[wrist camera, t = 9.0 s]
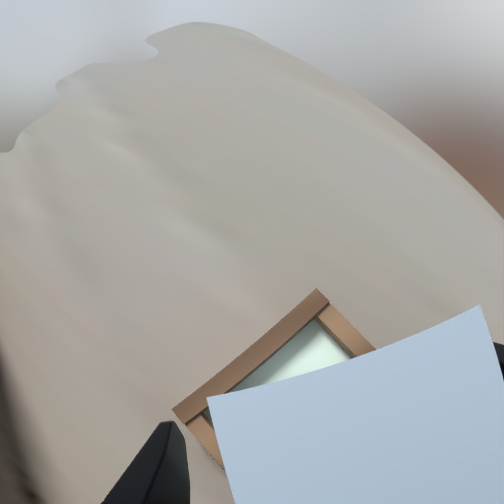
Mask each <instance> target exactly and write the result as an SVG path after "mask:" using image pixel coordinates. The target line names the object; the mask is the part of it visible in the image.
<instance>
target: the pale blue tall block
mask: <svg viewBox="0 0 504 504" xmlns="http://www.w3.org/2000/svg"><path fill="white" fill-rule="evenodd" d="M207 402H208V406H209V410H210V414H211V418H212V422H213V426H214V430H215V434H216V438H217V441H218V445H219V449H220V453H221V456H222V460H223V464H224V467H225V471H226V474H227V478H228V481H229V484H230V488H231V491H232V494H233V498H234V501H235V504H504V380H503V376H502V372H501V369H500V365H499V361H498V358H497V355H496V351H495V348H494V345H493V342H492V338H491V335H490V332H489V329H488V326H487V324H486V321H485V318H484V315H483V312H482V310H481V307H480V304H479V305H478V306H476V307H474V308H472V309H470V310H468V311H466V312H464V313H461V314H459V315H457V316H455V317H453V318H451V319H449V320H447V321H445V322H442V323H440V324H438V325H436V326H434V327H431V328H429V329H427V330H424V331H422V332H420V333H417V334H415V335H413V336H410V337H408V338H405V339H403V340H400V341H398V342H395V343H393V344H390V345H388V346H385V347H383V348H380V349H377V350H375V351H372V352H369V353H366V354H364V355H361V356H358V357H355V358H352V359H349V360H346V361H343V362H340V363H337V364H334V365H331V366H328V367H325V368H322V369H318V370H315V371H312V372H309V373H305V374H302V375H298V376H295V377H291V378H288V379H284V380H280V381H276V382H273V383H269V384H265V385H261V386H257V387H252V388H248V389H244V390H240V391H235V392H230V393H226V394H221V395H216V396H211V397H207Z"/></svg>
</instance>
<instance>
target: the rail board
mask: <svg viewBox="0 0 504 504" xmlns="http://www.w3.org/2000/svg"><path fill="white" fill-rule="evenodd" d="M375 350H376V349H375V348H374V347H373V346H372V345H371V344H370V343H369V342H368V341H367V340H366V339H365V338H364V337H363V336H362V335H361V334H360V333H359V332H358V331H357V330H356V329H355V328H354V327H353V326H352V325H351V324H350V323H349V322H348V321H347V320H346V319H345V318H344V317H343V316H342V315H341V314H340V313H339V312H338V311H337V310H336V309H335V308H334V307H333V306H332V305H331V304H330V303H329V300H328V299H327V298H326V297H325V296H324V295H323V294H322V293H321V292H320V291H319V290H318V289H317V288H316V289H315V290H314V291H313V292H312V293H311V294H310V295H308V296H307V297H306V298H305V299H304V300H303V301H302V302H301V303H300V304H299V305H297V306H296V307H295V308H294V309H293V310H292V311H291V312H290V313H289V314H287V315H286V316H285V317H284V318H283V319H282V320H281V321H279V322H278V323H277V324H276V325H275V326H274V327H273V328H271V329H270V330H269V331H268V332H267V333H266V334H264V335H263V336H262V337H261V338H260V339H259V340H257V341H256V342H255V343H254V344H253V345H252V346H250V347H249V348H248V349H247V350H246V351H244V352H243V353H242V354H241V355H240V356H238V357H237V358H236V359H235V360H234V361H232V362H231V363H230V364H229V365H227V366H226V367H225V368H224V369H223V370H221V371H220V372H219V373H218V374H216V375H215V376H214V377H213V378H211V379H210V380H209V381H208V382H206V383H205V384H204V385H202V386H201V387H200V388H199V389H197V390H196V391H195V392H194V393H192V394H191V395H190V396H188V397H187V398H186V399H184V400H183V401H182V402H181V403H179V404H178V405H177V406H175V407H174V408H173V409H172V410H173V412H174V413H175V414H176V416H177V417H178V418H179V419H180V421H181V422H182V423H183V424H185V425H186V426H187V428H188V429H189V430H190V431H191V432H192V434H193V435H194V436H195V437H196V438H197V440H198V441H199V442H200V443H201V444H202V445H203V446H204V448H205V449H206V450H207V451H208V452H209V453H210V454H211V456H212V457H213V458H214V459H215V460H216V461H217V462H218V463H219V464H220V465H221V466H222V468H223V469H224V470H225V467H224V464H223V460H222V456H221V453H220V449H219V445H218V441H217V438H216V434H215V430H214V426H213V422H212V418H211V414H210V410H209V406H208V402H207V397H211V396H216V395H221V394H226V393H230V392H235V391H240V390H244V389H248V388H252V387H257V386H261V385H265V384H269V383H273V382H276V381H280V380H284V379H288V378H291V377H295V376H298V375H302V374H305V373H309V372H312V371H315V370H318V369H322V368H325V367H328V366H331V365H334V364H337V363H340V362H343V361H346V360H349V359H352V358H355V357H358V356H361V355H364V354H366V353H369V352H372V351H375Z"/></svg>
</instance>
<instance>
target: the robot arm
mask: <svg viewBox="0 0 504 504" xmlns="http://www.w3.org/2000/svg"><path fill="white" fill-rule="evenodd" d="M493 345H494V348H495V351H496V355H497V358H498V361H499V365H500V369H501V372H502V376H503V380H504V345H502V344H498V343H495V342H493ZM101 504H190V479H189V470H188V462H187V453H186V443H185V439H184V436H183V435H182V433H181V431H180V430H179V428H178V426H177V425H176V423H175V422H174V421H165V422H161V423H160V424H159V425H158V426H157V428H156V429H155V430H154V432H153V433H152V435H151V436H150V437H149V439H148V440H147V442H146V443H145V444H144V446H143V447H142V448H141V450H140V451H139V453H138V454H137V455H136V457H135V458H134V460H133V461H132V462H131V464H130V465H129V466H128V468H127V469H126V471H125V472H124V473H123V475H122V476H121V477H120V479H119V480H118V481H117V483H116V484H115V486H114V487H113V488H112V490H111V491H110V492H109V494H108V495H107V496H106V498H105V499H104V501H103V502H102V503H101Z"/></svg>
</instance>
